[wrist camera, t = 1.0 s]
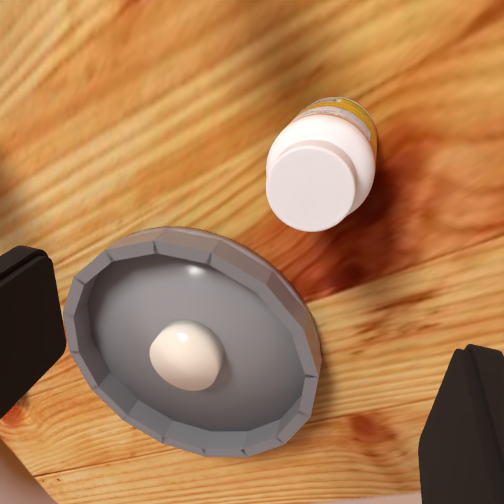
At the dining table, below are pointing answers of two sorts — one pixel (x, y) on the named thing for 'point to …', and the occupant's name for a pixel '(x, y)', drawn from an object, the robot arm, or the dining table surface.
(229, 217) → the dining table surface
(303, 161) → the supplement bottle
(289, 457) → the dining table surface
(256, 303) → the ring tray
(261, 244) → the dining table surface
